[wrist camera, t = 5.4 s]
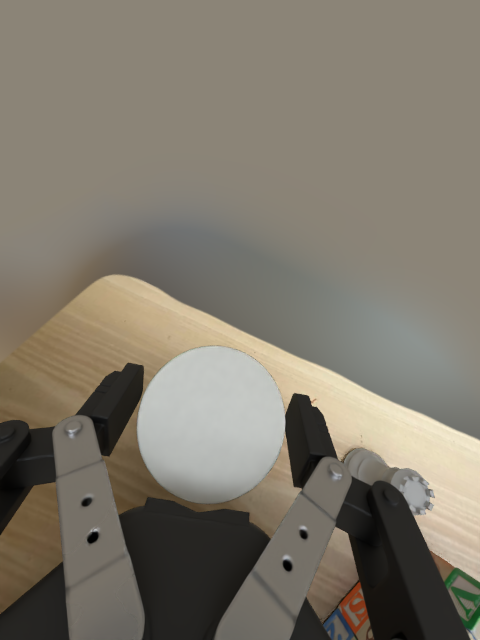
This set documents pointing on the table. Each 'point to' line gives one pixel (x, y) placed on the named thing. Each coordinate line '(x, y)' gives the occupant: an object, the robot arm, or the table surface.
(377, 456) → the rook chess piece
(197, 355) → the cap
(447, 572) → the stack of blocks
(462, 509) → the table surface
